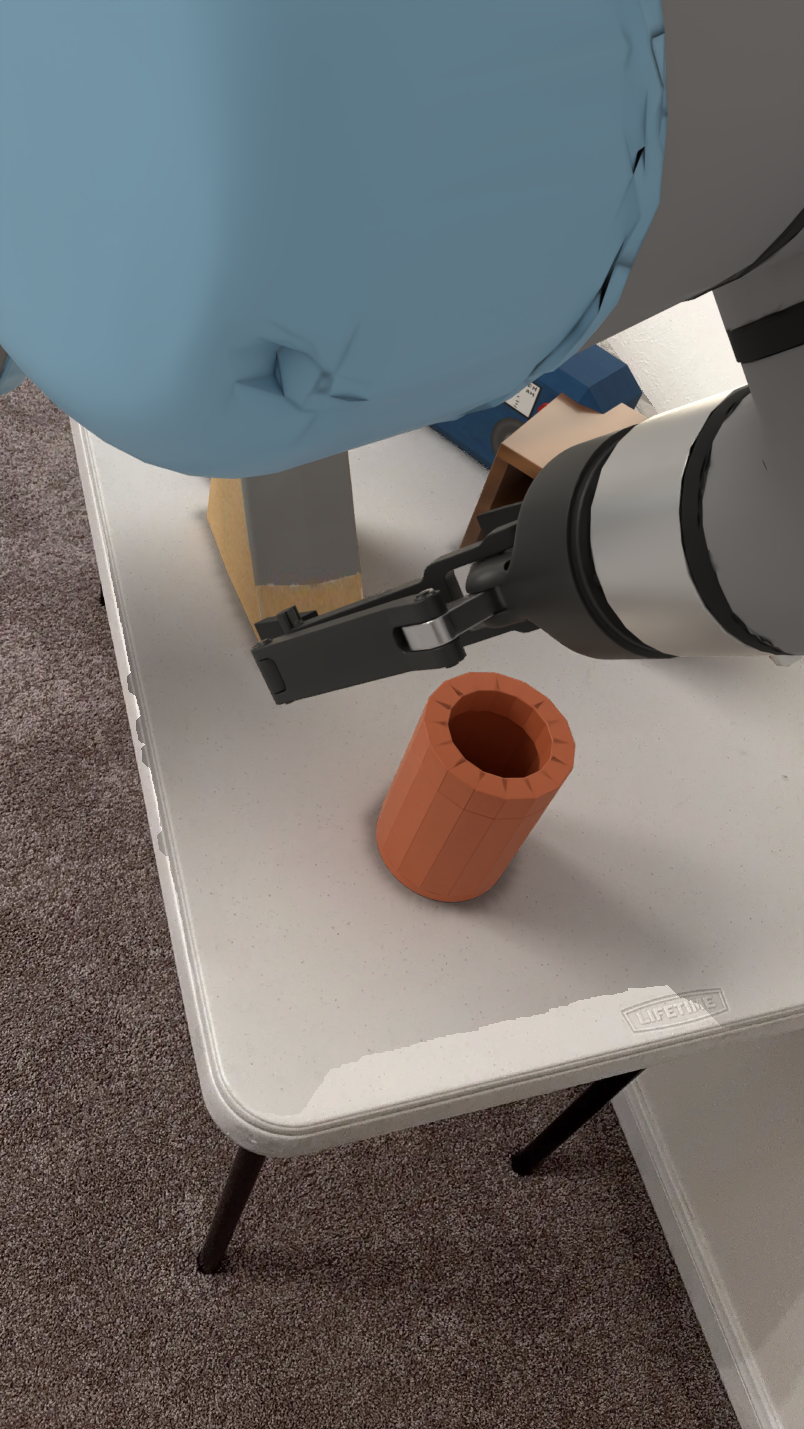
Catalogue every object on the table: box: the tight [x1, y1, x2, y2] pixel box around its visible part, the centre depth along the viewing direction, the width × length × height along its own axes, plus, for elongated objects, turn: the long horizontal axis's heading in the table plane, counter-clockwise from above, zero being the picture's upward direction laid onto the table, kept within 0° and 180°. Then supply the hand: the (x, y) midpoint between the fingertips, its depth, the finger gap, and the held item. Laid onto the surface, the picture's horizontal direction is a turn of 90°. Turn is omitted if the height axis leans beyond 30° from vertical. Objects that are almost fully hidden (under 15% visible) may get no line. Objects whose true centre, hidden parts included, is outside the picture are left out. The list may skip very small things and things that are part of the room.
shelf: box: [458, 393, 649, 550], centre depth 81 cm, size 14×14×11 cm
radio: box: [428, 344, 643, 471], centre depth 85 cm, size 21×9×20 cm, turn 50°
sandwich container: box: [206, 450, 365, 643], centre depth 69 cm, size 9×15×15 cm, turn 24°
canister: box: [375, 671, 576, 903], centre depth 59 cm, size 9×9×12 cm
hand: (386, 589), depth 50 cm, fingers open, 13 cm apart
